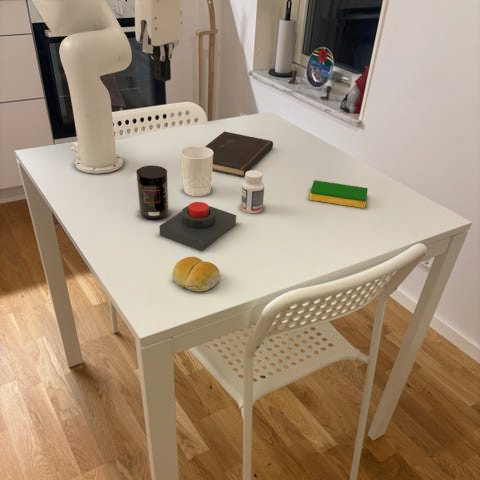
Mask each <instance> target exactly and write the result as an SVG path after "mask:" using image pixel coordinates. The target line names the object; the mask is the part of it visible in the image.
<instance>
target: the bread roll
mask: <svg viewBox="0 0 480 480" xmlns="http://www.w3.org/2000/svg"><path fill="white" fill-rule="evenodd" d="M172 276H173V277H172V278H173V281H174V282H175V283H176V284H177V286H179V287H181V288H186V289H187V290H189V291H192V292H205V291H209V290H210V289H211V288H213V287H214V286H216V285H217V284H218V282H219V281H220V279H221V274H220V269H219V268H218V266H217V265H216V264H214V263H212V262H210V261H203V260H202V259H201V258H199V257H197V256H186V257H183V258H181V259H180V260H178V261H177V262H176V263H175V264H174V267H173V271H172Z"/></svg>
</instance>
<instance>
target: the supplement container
mask: <svg viewBox="0 0 480 480" xmlns="http://www.w3.org/2000/svg"><path fill="white" fill-rule="evenodd" d="M135 173H136V182H137V194H138V195H137V196H138V208H139V214H140V216H141V217H142V218H143V219H145V220H149V221H159V220H163V219H165V218H166V217H167V216H168V215H169V212H170V211H169V185H168V179H169V178H168V177H169V176H168V170H167V169H166V168H165V167H163V166H160V165H144V166H140V167H139V168H138V169H136V172H135Z"/></svg>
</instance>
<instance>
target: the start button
mask: <svg viewBox="0 0 480 480" xmlns="http://www.w3.org/2000/svg"><path fill="white" fill-rule="evenodd" d="M188 206H189V215H190V216H192V217H195V218H202V217H207V216H208V215H209V206H210V205H209V204H208V203H206V202H204V201H194V202H191V203H189V204H188Z"/></svg>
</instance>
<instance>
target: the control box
mask: <svg viewBox="0 0 480 480" xmlns="http://www.w3.org/2000/svg"><path fill="white" fill-rule="evenodd" d="M208 206H209V215H208V216H207V217H202V218H195V217H192V216H190V215H189V205H187V206H185V207H183V208H182V209H181V211H179V212H177V214H175V215H174V216H172V217H171V218H169V219H167V220H166V221H164V222H163V223H162V224H160V225H159V236H160V237H162V238H165V239H167V240H171V241H173V242H176V243H179V244H181V245H184V246H186V247H189V248H192V249H194V250H197V251H199V252H203V251H205V249H206V248H208V247H209V246H210V245H211V244H213V243H214V242H215V241H217V240H218V239H219V238H221V237H222V236H223V235H224V234H226V233H227V232H228V231H229V230H231V229H232V228H234V227H235V226H236V225H237V214H234V213H231V212H228V211H226V210H222V209H219V208H217V207H213V206H210V205H208Z"/></svg>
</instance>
